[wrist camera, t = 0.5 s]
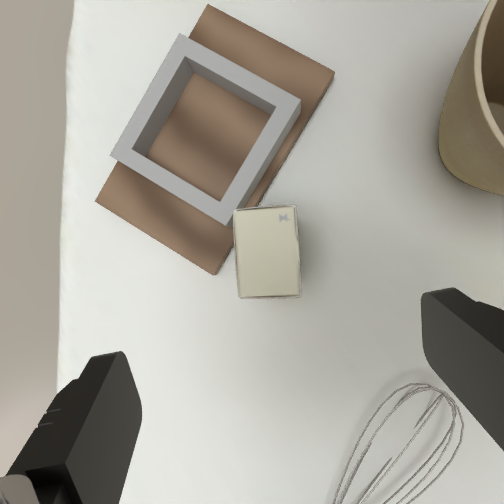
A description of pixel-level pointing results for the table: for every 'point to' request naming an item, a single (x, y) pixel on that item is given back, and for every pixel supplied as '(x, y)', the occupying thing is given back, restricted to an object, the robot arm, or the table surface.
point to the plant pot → (477, 107)
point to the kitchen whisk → (406, 445)
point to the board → (214, 141)
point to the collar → (163, 101)
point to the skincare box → (267, 252)
